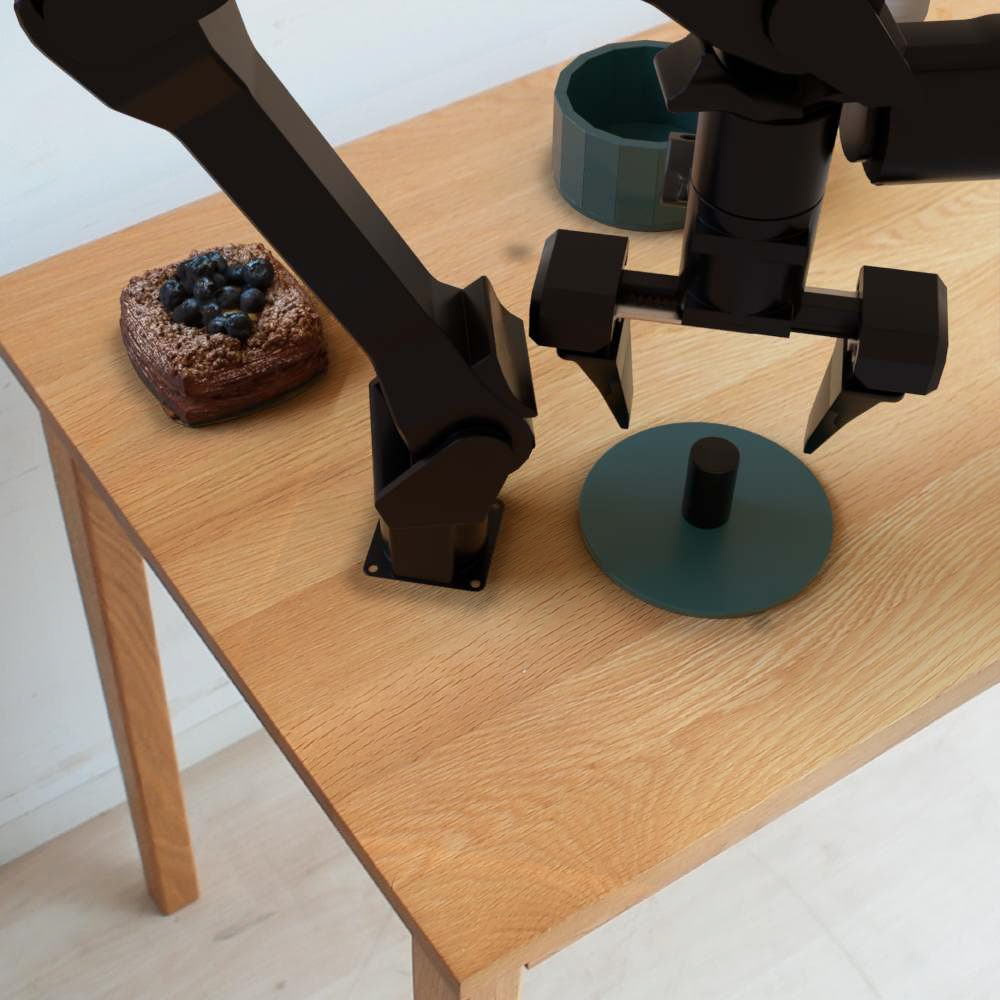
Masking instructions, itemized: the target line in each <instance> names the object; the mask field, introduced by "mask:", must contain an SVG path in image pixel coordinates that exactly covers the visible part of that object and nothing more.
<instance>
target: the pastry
mask: <svg viewBox="0 0 1000 1000" xmlns="http://www.w3.org/2000/svg"><path fill="white" fill-rule="evenodd" d="M128 281H129V284H126V285H125V286H124V287H123V288H122V289H121V291H120V296H119V304H120V318H119V320H118V323H119V327H120V332H121V338H122V339H121V340H122V342H123V345H124V347H125V350H126V353H127V357H128V359H129V362H130V363H131V365H132V367H133V369H134V371H135V372H136V375H137V376H138V378H139V379H140V380H141V382H142V383H143V385H144V386H145V387H146V388H147V389H148V391H149V392H150V393H151V395H153V396H154V398H155V399H156V400H157V401H158V403H159V404H160V406H161V408H162V409H163V411H164V413H165V415H166V417H167V418H168V419H171V420H172V421H174V422H176V423H178V424H180V425H183V426H186V427H202V426H207V425H212V424H216V423H222V422H225V421H230V420H235V419H238V418H241V417H245V416H249V415H251V414H254V413H256V412H259V411H263V410H265V409H267V408H268V409H269V408H270V407H274V406H276V405H279V404H281V403H283V402H285V401H289V400H291V399H292V398H294V397H296V396H298V395H299V394H301V393H302V392H304V391H305V390H307V389H309V388H310V387H312V385H314V384H315V383H316V382H318V381H319V380H320V379H321V378H323V377H324V376H325V375H327V373H328V370H329V365H330V364H331V360H330V359H329V354H328V350H327V346H328V342H327V340H326V337H325V334H324V327H323V322H322V317H321V316H320V313H319V312H318V309H317V308H316V305H315V304H314V302H313V301H312V299H311V297H310V295H309V294H308V293H307V292H306V290H305V289H304V287H303V286H302V285H301V284H300V282H299V281H298V280H297V279H296V278H295V276H294V275H293V274H292V272H290V271H289V269H288V268H287V267H286V266H284V265H283V263H282V262H281V261H279V260H278V258H276V257H275V256H274V255H273V252H272V250H271V249H267V248H266V247H265V245H264V243H262V242H250V243H235V244H234V243H233V242H230V243H227V244H226V245H225V244H221V245H220V246H218V245H214V246H213V247H211V248H210V247H207V248H205V249H203V250H201V251H199V250H197V249H195V248H193V249H191V251H190V252H189V254H188V257H187V258H183V259H182V260H180V261H176V262H172V263H170V264H168V265H164V266H163V267H156V268H152V269H146V270H145V271H144V272H143V275H142V276H138V275H134V276H132V277H131V278H130V279H129V280H128Z"/></svg>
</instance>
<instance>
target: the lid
mask: <svg viewBox="0 0 1000 1000" xmlns="http://www.w3.org/2000/svg"><path fill="white" fill-rule="evenodd" d="M578 524H579V528H580V533H581V536H582V540H583V542H584V545H585V547H586V549H587V551H588V552H589V554H590V556H591V557H592V559H593V561H594V562H595V563H596V564H597V566H598V568H600V570H601V571H602V572H603V574H605V575H606V576H607V577H608V578H609V579H610V580H611V581H612V582H613V583H614V584H616V585H617V586H618V587H619V588H621V589H622V590H623V591H625V592H626V593H628V594H630V595H631V596H633V597H635V598H637V599H638V600H640V601H642V602H644V603H646V604H648V605H651V606H654V607H655V608H658V609H661V610H664V611H668V612H671V613H673V614H678V615H683V616H688V617H692V618H693V617H694V618H704V619H731V618H739V617H740V618H741V617H746V616H747V617H748V616H750V615H751V616H752V615H755V614H760V613H763V612H765V611H768V610H771V609H774V608H777V607H778V606H781V605H782V604H784V603H786V602H788V601H790V600H791V599H793V598H795V597H796V596H797V595H799V594H800V593H802V592H803V591H804V590H805V589H806V588H807V587H808V586H809V585H810V584H811V583H813V581H814V579H816V578H817V576H818V575H819V574H820V573H821V571H822V569H823V567H824V565H825V563H826V561H827V559H828V556H829V553H830V551H831V547H832V545H833V538H834V537H833V536H834V516H833V511H832V507H831V503H830V500H829V498H828V496H827V493H826V491H825V489H824V487H823V486H822V484H821V482H820V480H819V479H818V478H817V477H816V475H815V474H814V472H812V470H811V469H810V468H809V467H808V466H807V465H806V464H805V463H804V462H803V461H802V460H801V459H799V458H798V457H797V456H796V455H795V454H793V452H791V451H790V450H788V449H786V448H785V447H784V446H782V445H780V444H779V443H777V442H775V441H773V440H771V439H769V438H767V437H765V436H764V435H761V434H758V433H756V432H753V431H751V430H748V429H744V428H741V427H737V426H734V425H729V424H724V423H723V424H722V423H717V422H706V421H683V422H682V421H681V422H673V423H671V422H670V423H666V424H661V425H656V426H653V427H650V428H646V429H643V430H641V431H638V432H636V433H633V434H632V435H629V436H627V437H626V438H623V439H622V440H621V441H618V442H617V443H615V444H614V445H613V446H611V448H609V449H608V450H606V452H604V453H603V454H602V455H601V456H600V457H599V458H598V459H597V460H596V462H595V463H594V465H593V466H592V467H591V469H590V470H589V471H588V474H587V476H586V478H585V480H584V481H583V484H582V488H581V491H580V494H579V502H578Z"/></svg>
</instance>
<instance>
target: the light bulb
mask: <svg viewBox="0 0 1000 1000" xmlns="http://www.w3.org/2000/svg"><path fill="white" fill-rule="evenodd" d="M885 2H886V4H887V6H888V8H889V10H890V12H891V14H892V16H893V18H894V20H895V22H896V23H900V22H921V21H926V17H927V16H928V13H929V10H930V9H929V8H930V4H931V0H885Z"/></svg>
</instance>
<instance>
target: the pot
mask: <svg viewBox="0 0 1000 1000" xmlns="http://www.w3.org/2000/svg"><path fill="white" fill-rule="evenodd" d="M673 42H674V41H663V40H652V39H639V40H638V39H637V40H629V41H620V42H612V43H607V44H603V45H601V46H599V47H597V48H593V49H591V50H588V51H586V52H583V53H580V54H579V55H577V57H575V58H574V59H572V61H571V62H570V63H568V64H567V65H566V66H565V67H564V68H563V69H562V70H560V72H559V75H558V77H557V81H556V85H555V88H554V91H553V111H552V112H553V114H552V115H553V116H552V141H551V142H552V146H551V147H552V148H551V170H552V175H553V178H552V179H553V181H554V184H555V187H556V189H557V191H558V194H559V195H560V196H561V197H562V198H563V199H564V200H565V201H566V203H567V204H568V205H570V206H571V208H573V209H574V210H576V211H577V212H579V213H580V214H582V215H583V216H586V217H587V218H590V219H592V220H594V221H596V222H598V223H601V224H604V225H606V226H610V227H613V228H614V227H615V228H618V229H624V230H629V231H638V232H662V231H663V232H664V231H672V230H677V229H678V230H679V229H684V227H685V219H686V211H687V208H685V207H676V206H668V205H662V204H661V202H660V199H661V190H662V182H663V174H664V167H665V160H666V153H667V145H668V138H669V135H670V132H678V133H687V134H696V131H697V123H698V114H699V112H690V113H672V112H671V111H669V110H668V109H667V106H666V102H665V99H664V96H663V92H662V89H661V86H660V82H659V79H658V76H657V72H656V69H655V66H654V62H653V61H654V57H655V56H656V54H657V53H659V52H660V51H662V50H663V49H665V48H666V47H667V46H669V45H670V44H672V43H673Z"/></svg>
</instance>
